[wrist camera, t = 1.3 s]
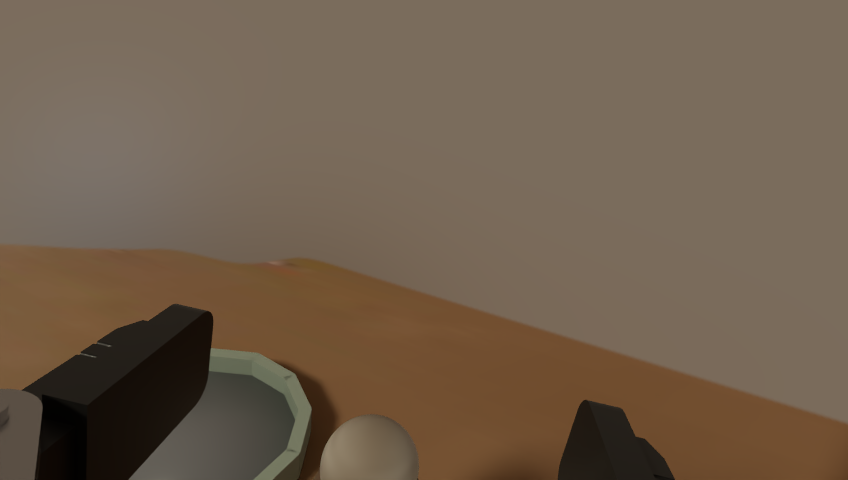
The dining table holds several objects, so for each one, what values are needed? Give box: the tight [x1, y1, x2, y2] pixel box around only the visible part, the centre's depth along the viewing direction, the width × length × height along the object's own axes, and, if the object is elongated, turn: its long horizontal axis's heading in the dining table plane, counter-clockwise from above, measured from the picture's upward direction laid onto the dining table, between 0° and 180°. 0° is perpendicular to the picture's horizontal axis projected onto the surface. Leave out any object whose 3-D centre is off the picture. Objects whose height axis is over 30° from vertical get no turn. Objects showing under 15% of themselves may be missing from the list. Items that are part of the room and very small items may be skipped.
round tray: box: [129, 348, 312, 480], centre depth 39 cm, size 16×16×2 cm
